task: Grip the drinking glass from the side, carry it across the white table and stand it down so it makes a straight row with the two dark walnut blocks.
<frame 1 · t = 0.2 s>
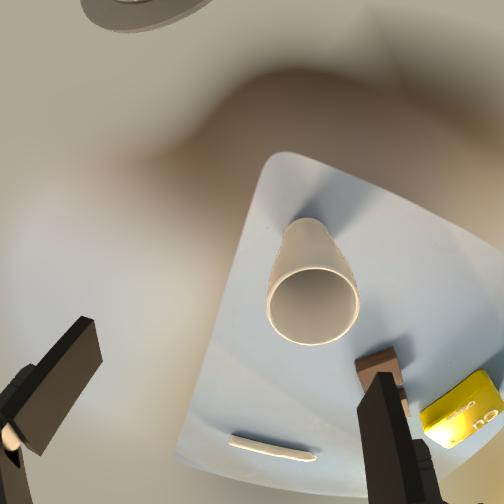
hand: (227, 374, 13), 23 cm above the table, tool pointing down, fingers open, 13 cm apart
marker: (275, 445, 50), on the table
drinking glass: (306, 238, 34), on the table
element tile: (461, 404, 42), on the table
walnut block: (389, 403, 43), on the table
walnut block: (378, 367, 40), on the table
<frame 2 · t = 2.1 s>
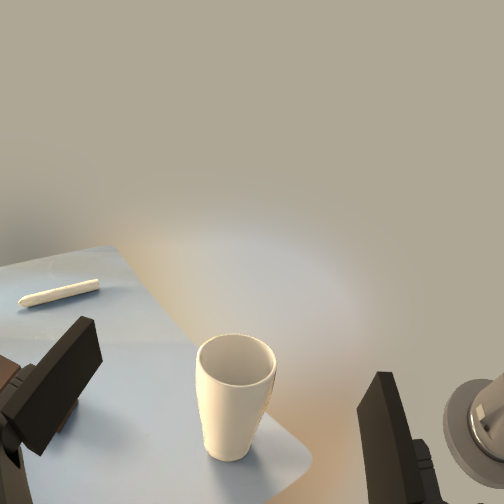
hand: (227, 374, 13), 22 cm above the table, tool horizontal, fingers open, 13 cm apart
marker: (58, 299, 50), on the table
drinking glass: (226, 445, 30), on the table
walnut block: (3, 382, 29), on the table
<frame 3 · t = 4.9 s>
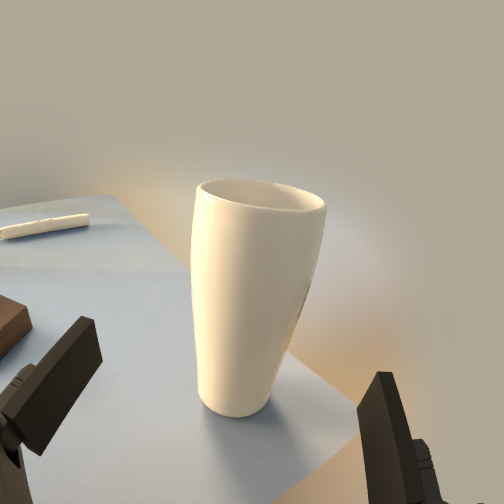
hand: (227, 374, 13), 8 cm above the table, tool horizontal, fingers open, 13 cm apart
marker: (41, 233, 42), on the table
drinking glass: (232, 395, 21), on the table
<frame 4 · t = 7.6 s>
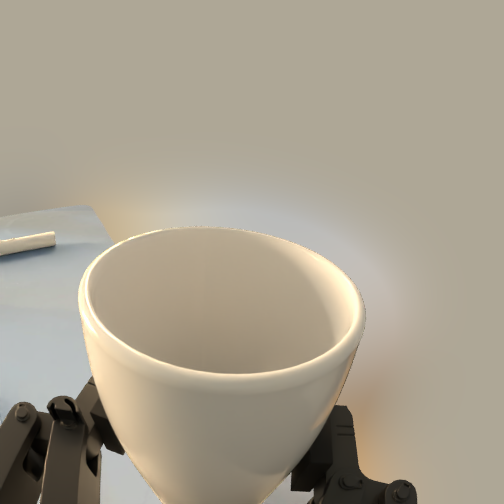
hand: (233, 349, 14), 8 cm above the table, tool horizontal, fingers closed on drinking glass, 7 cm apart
marker: (4, 255, 34), on the table
drinking glass: (208, 499, 13), on the table, touching gripper
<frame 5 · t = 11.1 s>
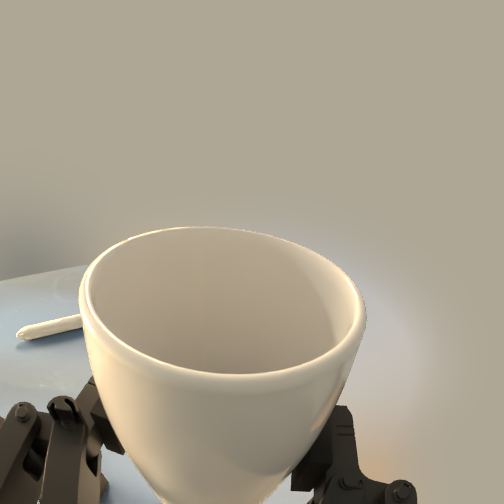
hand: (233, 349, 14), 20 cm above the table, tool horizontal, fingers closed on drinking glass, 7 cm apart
marker: (67, 330, 40), on the table
drinking glass: (208, 499, 13), point 12 cm above the table, touching gripper
when the fingers open (8 cm above the table, at t = 15.1 s): drinking glass stays where it is, on the table.
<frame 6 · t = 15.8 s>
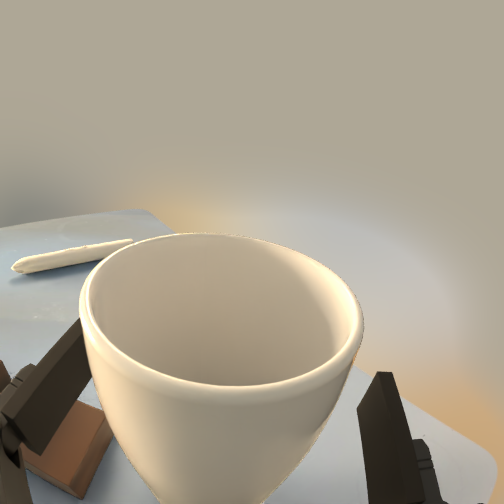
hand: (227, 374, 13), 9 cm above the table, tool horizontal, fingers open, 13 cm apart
marker: (72, 265, 35), on the table
drinking glass: (207, 500, 13), on the table
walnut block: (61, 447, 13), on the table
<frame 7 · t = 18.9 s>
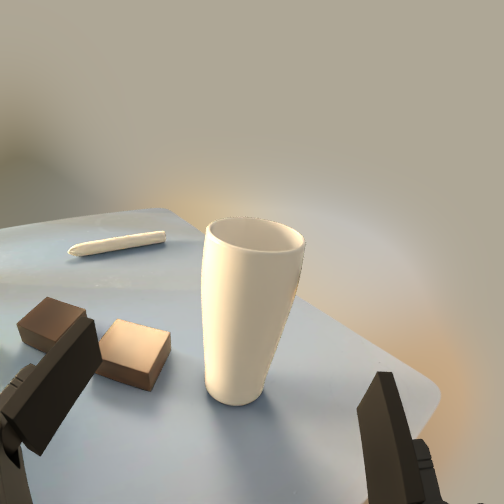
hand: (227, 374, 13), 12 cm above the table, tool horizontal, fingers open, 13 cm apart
marker: (117, 250, 48), on the table
drinking glass: (233, 387, 26), on the table
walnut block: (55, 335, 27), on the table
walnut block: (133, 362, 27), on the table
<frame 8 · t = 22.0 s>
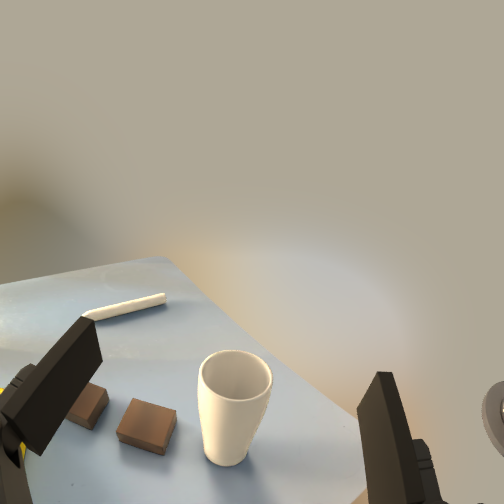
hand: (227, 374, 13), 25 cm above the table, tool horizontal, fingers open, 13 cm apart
marker: (123, 313, 54), on the table
drinking glass: (224, 451, 31), on the table
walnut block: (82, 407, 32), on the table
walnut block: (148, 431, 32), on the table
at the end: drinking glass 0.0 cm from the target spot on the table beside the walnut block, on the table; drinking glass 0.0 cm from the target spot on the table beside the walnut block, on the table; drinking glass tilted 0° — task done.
